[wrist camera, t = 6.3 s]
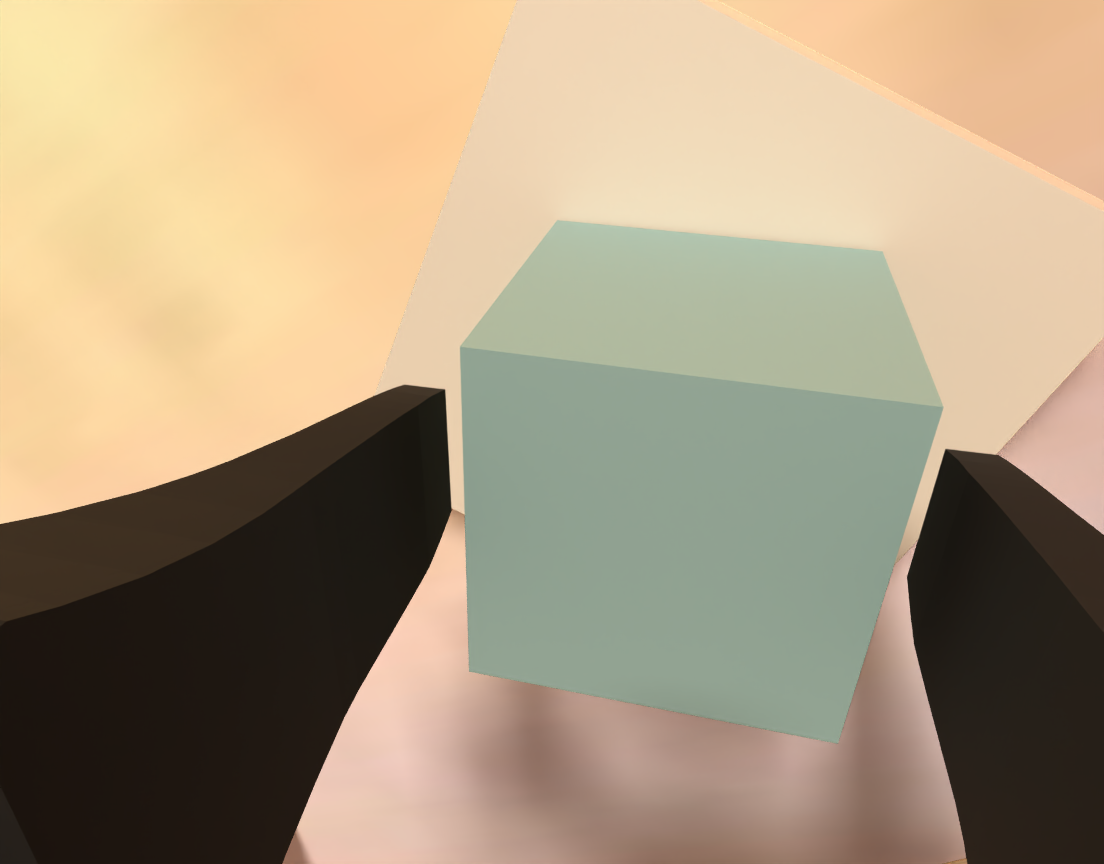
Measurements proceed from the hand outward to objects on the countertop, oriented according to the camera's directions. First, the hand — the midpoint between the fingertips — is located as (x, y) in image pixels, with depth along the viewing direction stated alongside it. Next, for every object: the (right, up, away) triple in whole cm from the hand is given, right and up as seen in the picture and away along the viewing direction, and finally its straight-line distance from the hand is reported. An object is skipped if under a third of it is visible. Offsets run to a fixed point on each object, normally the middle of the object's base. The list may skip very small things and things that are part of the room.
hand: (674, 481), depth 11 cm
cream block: (+1, +3, +5) cm, 6 cm away
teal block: (+1, +2, +3) cm, 3 cm away
